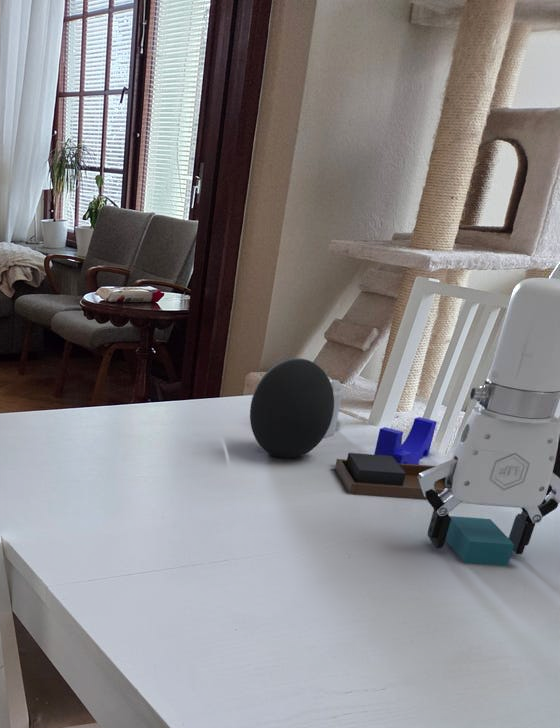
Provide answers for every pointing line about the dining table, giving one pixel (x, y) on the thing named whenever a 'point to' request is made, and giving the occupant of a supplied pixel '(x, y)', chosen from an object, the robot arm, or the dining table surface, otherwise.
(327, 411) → the decorative egg
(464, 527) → the teal rectangular block
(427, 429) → the blue curved cradle
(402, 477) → the back pad
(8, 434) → the dining table surface
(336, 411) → the lumpy-topped squat cylinder
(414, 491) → the frame
